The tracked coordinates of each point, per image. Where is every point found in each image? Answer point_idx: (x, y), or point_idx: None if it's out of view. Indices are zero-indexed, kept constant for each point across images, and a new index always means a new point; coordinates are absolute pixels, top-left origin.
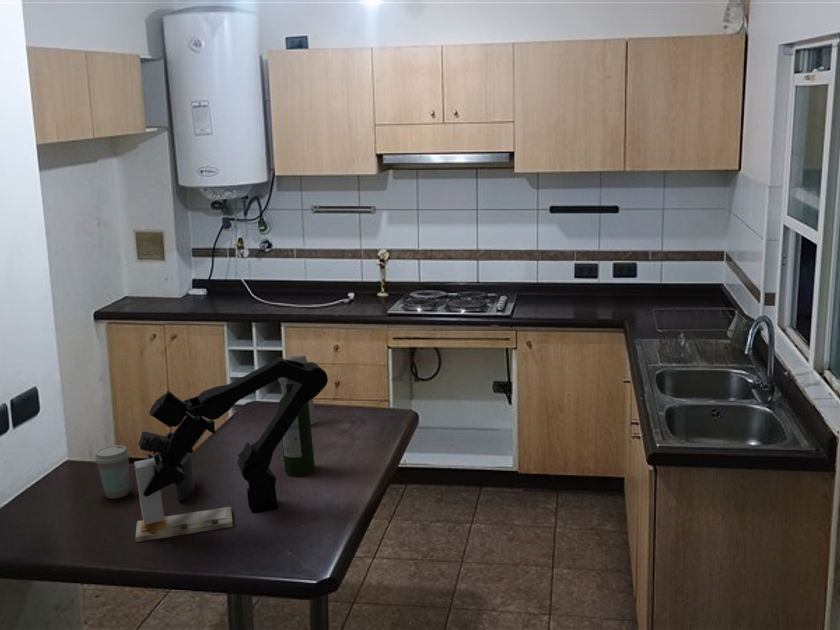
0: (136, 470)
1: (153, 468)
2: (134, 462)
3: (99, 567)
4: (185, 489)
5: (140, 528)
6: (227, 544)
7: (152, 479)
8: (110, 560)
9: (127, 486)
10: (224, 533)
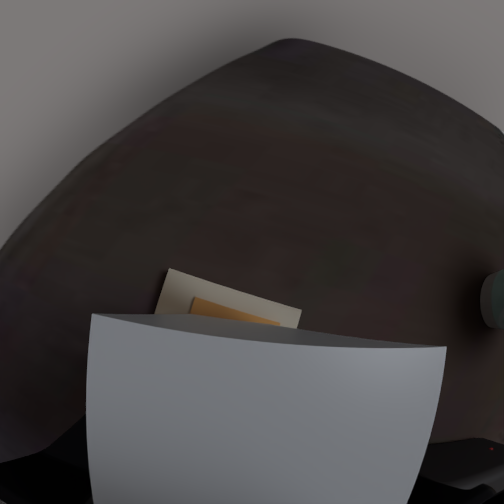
0: (190, 327)
1: (50, 501)
2: (424, 352)
3: (97, 148)
4: None
5: (230, 304)
6: (25, 452)
7: (83, 427)
8: (110, 177)
9: (498, 324)
10: None
